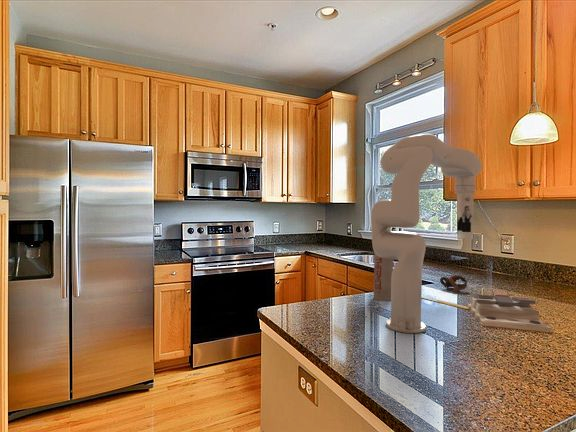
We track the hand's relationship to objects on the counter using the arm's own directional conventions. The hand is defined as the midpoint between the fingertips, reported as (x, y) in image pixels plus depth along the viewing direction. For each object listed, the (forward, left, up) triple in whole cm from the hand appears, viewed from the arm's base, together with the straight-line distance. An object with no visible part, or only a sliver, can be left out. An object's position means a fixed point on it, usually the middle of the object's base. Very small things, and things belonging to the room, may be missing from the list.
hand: (463, 231), depth 141 cm
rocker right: (-14, -17, -24) cm, 33 cm away
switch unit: (-17, -11, -30) cm, 36 cm away
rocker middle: (-14, -11, -24) cm, 30 cm away
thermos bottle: (-3, +32, -31) cm, 44 cm away
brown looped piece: (+25, -1, -31) cm, 39 cm away
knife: (+2, +11, -31) cm, 33 cm away
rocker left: (-14, -4, -24) cm, 28 cm away
